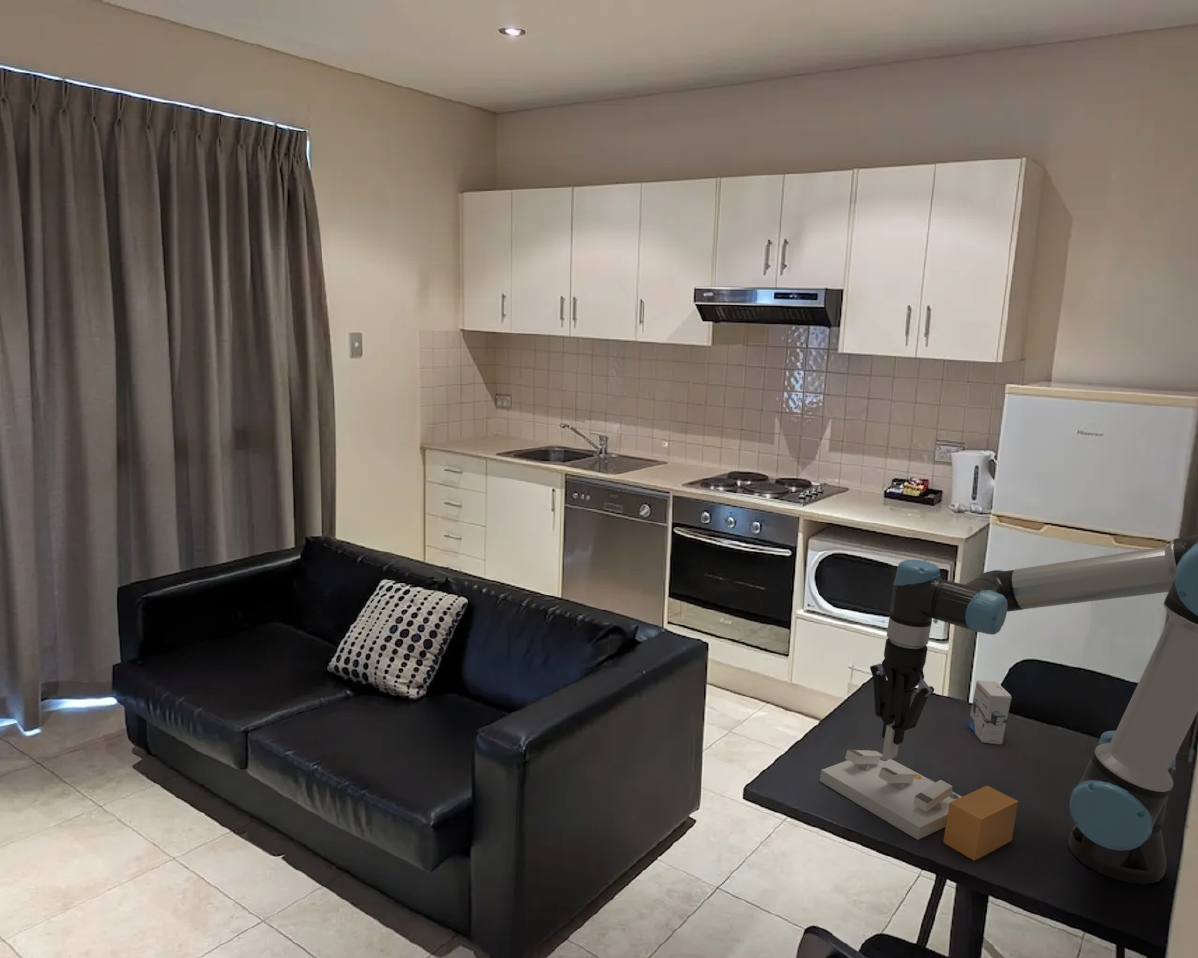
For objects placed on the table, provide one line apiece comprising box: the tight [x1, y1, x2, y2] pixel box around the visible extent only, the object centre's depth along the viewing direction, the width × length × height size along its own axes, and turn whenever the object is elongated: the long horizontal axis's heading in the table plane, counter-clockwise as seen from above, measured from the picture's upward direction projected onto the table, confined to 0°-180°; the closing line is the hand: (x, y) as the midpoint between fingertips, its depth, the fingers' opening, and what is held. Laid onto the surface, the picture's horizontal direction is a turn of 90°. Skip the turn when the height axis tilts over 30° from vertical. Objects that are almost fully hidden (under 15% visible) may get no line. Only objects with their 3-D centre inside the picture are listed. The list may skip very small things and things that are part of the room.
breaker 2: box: [879, 768, 915, 783], centre depth 176 cm, size 3×8×2 cm, turn 126°
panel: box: [819, 750, 963, 841], centre depth 176 cm, size 23×17×4 cm
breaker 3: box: [914, 779, 953, 812], centre depth 169 cm, size 3×8×2 cm, turn 126°
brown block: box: [942, 785, 1019, 861], centre depth 162 cm, size 6×12×8 cm, turn 126°
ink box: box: [968, 679, 1012, 745], centre depth 205 cm, size 9×5×12 cm, turn 179°
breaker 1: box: [844, 748, 881, 764], centre depth 182 cm, size 3×8×2 cm, turn 125°
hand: (889, 756), depth 173 cm, fingers closed
